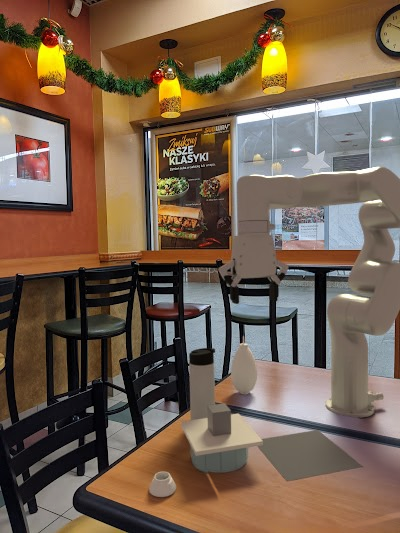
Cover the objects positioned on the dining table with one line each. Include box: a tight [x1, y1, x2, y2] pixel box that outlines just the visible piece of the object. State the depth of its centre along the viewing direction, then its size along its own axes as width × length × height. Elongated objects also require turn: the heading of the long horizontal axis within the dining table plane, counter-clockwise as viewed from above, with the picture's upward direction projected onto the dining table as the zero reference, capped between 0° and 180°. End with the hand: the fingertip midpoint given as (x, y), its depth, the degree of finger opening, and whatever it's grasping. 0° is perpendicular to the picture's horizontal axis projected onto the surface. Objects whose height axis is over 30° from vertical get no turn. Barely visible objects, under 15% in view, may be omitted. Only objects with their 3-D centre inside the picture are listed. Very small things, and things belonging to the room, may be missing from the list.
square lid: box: [179, 402, 263, 456], centre depth 88 cm, size 14×14×6 cm
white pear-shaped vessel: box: [230, 335, 258, 395], centre depth 126 cm, size 8×8×18 cm
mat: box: [257, 429, 364, 482], centre depth 89 cm, size 17×17×1 cm
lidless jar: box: [148, 471, 177, 498], centre depth 78 cm, size 5×3×5 cm
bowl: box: [189, 444, 249, 475], centre depth 88 cm, size 12×12×6 cm
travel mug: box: [188, 347, 216, 420], centre depth 104 cm, size 6×7×20 cm
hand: (254, 301), depth 97 cm, fingers open, 9 cm apart
